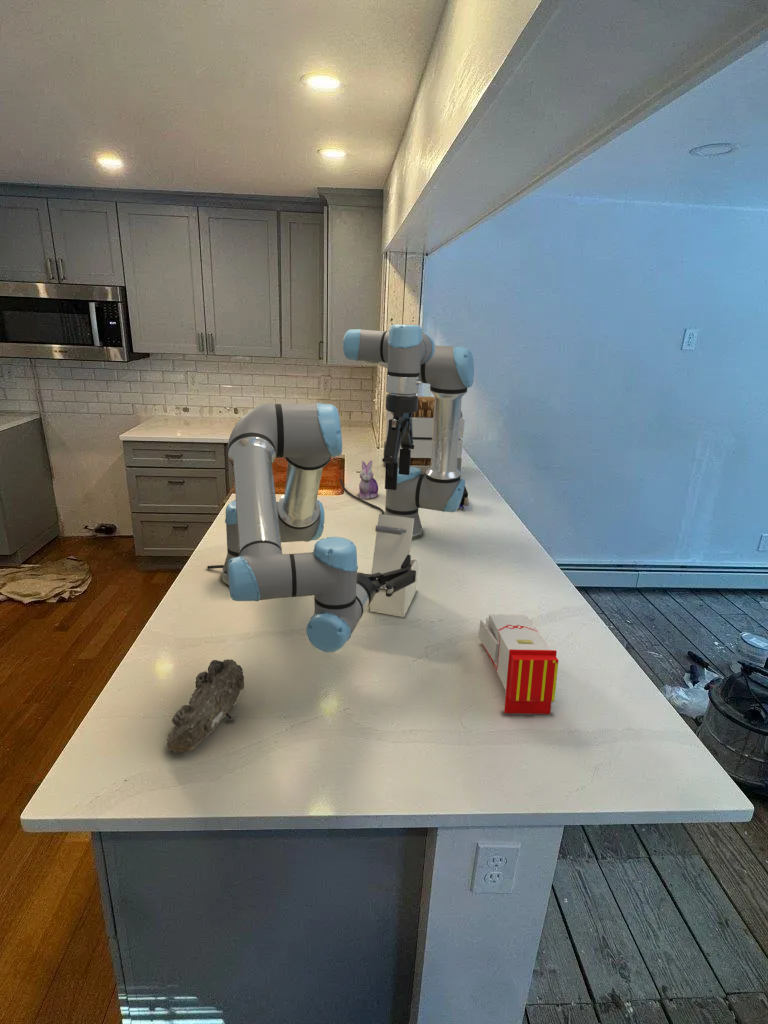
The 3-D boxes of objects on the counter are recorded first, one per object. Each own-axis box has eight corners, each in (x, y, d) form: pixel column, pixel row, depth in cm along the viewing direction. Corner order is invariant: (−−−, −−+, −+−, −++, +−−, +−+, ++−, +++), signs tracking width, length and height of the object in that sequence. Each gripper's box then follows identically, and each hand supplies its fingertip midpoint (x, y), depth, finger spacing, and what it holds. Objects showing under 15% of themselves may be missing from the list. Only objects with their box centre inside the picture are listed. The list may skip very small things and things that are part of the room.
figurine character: (468, 514, 225) (463, 498, 239) (470, 497, 222) (465, 482, 235) (451, 514, 225) (447, 498, 238) (453, 497, 222) (449, 481, 235)
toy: (524, 600, 137) (567, 656, 108) (520, 651, 140) (560, 720, 111) (474, 599, 137) (504, 655, 107) (471, 650, 140) (498, 719, 110)
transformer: (382, 463, 289) (386, 382, 275) (445, 464, 293) (451, 384, 279) (390, 482, 257) (394, 392, 243) (460, 483, 261) (468, 394, 247)
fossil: (192, 660, 117) (244, 628, 112) (224, 691, 120) (276, 661, 115) (142, 746, 98) (202, 712, 93) (182, 779, 101) (242, 748, 96)
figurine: (363, 500, 232) (364, 465, 227) (352, 493, 240) (353, 459, 235) (383, 498, 236) (385, 463, 231) (372, 491, 244) (373, 457, 239)
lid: (379, 513, 145) (371, 513, 137) (414, 518, 143) (408, 518, 135) (371, 575, 145) (363, 578, 137) (406, 580, 143) (399, 584, 135)
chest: (385, 586, 162) (386, 554, 159) (416, 591, 160) (418, 559, 156) (370, 611, 148) (371, 577, 145) (403, 617, 146) (405, 582, 143)
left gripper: (293, 603, 117) (329, 562, 136) (411, 624, 111) (431, 578, 130) (293, 570, 114) (330, 533, 133) (414, 590, 108) (434, 548, 128)
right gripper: (405, 403, 120) (400, 498, 127) (428, 389, 143) (422, 470, 150) (371, 400, 122) (368, 494, 129) (399, 386, 144) (395, 467, 152)
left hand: (380, 555), depth 132 cm, fingers open, 13 cm apart
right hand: (397, 481), depth 139 cm, fingers open, 13 cm apart
